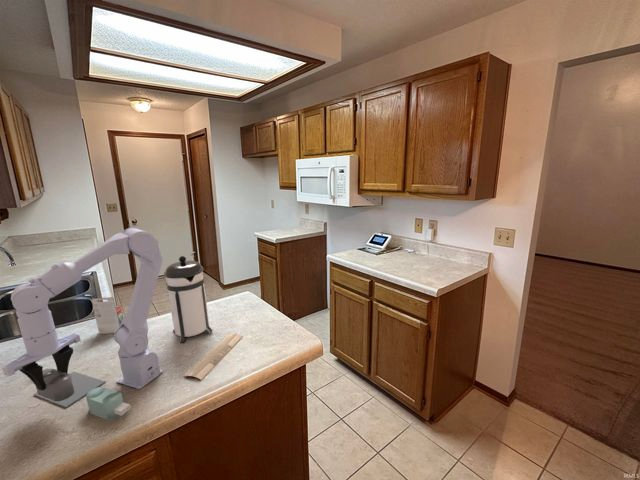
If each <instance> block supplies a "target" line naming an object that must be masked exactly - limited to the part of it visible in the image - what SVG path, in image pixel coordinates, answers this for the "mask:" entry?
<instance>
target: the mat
mask: <svg viewBox="0 0 640 480" xmlns="http://www.w3.org/2000/svg"><path fill="white" fill-rule="evenodd" d="M69 374H70V375H71V379H72V383H73V387H74V394H73V395H72V396H70V397H69V398H67V399H65V400H62V401H53V400H51V399H48V398H46V397H43V396H40V395H38V393H37V392H35V393H33V396H34V397H36V398H39V399H42V400H45V401H47V402H50V403H51V404H52V403H53V404H55V405H58V406H60V407H62V408H66V409H67V408H69V407H70V406H72V405H73V404H75V403H77V402H79V401H80V400H81V399H83V398H84V397H86V395H87V393H88V392H89V391H91V390H93V389H95V388H98V387H102V385H104V384H106V381H105V380H102V379H98V378H95V377H92V376H90V375H86V374H83V373H79V372H78V371H77V372H76V371H71V373H70V372H69Z"/></svg>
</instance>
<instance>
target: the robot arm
mask: <svg viewBox="0 0 640 480" xmlns="http://www.w3.org/2000/svg"><path fill="white" fill-rule="evenodd" d="M130 252H131V253H133V254H134V256H135V257H136V259H137V260H139V262H140V266H139V269H138V272H137V273H138V274H137V276H136V280H135V284H134V286H133V287H134V288H133V291H132V294H131V297H130V302H129V306H128V309H127V313H126V315H125V317H123V320H122V322H121V325H120V326H119V328H118V329H117V330H116V331H115V333H113V334H114V335H113V339H114V341H115V343H117V344H118V345H119V348H118V352H117V355H118V358H119V363H120V368H121V372H122V376H121V377H119V378H117V379H116V383H119V384H121V385H125V386H128V387H131V388H133V389H138V390H140V389H142V388H143V387H145V386H146V385H147V384H149V383H150V382H151V381H153V380H154V379H156V378H157V377H158V376H159V375H160V374H162V373H163V372H164V371H163V370H162V369H160V365H159V358H158V355H157V353H156V352H154V351H152V350H151V349H150V348H149V346H148V345H149V337H148V332H149V325H148V316H149V313H150V308H151V304H152V302H153V298H154V294H155V290H156V286H157V283H158V279H159V277H160V272H161V267H162V264H163V256H162V253H161V250H160V247H159V241H158V239H157V238H156V237H154V235H153V234H152V233H151V232H148V231H146V230H141V229H140V228H137V227H128V228H126V229H124V230H123V231H121V232H118V233H116V234H113V235H112V236H111V237H110V238H108V239H107V240H105V241H103V242H102V243H101V244H99V245H97V246H96V247H94V248H92V249H91V250H89V251H88V252H87V253H85V254H84V255H82V256H79V258H77V259H76V260H75V261H72V262H70V261H69V262H68V261H67V262H66V261H63V262H61V263H59V264H58V263H57V262H55V263H53V264H52V265H51V266H50V269H48V270H47V271H45V272H44V273H42V274H41V275H38V276H37V277H36V278H35V277H31V278H30V279H28V282H27V283H22V284H20V285H18V286H16V287H15V288H14V289H13V291H12V292H11V297H10V300H11V303H12V306H13V308H14V309H15V314H16V317H17V323H18V326H19V330H20V334H21V337H22V341H23V344H24V349H25V351H26V352H25V353H23V354H22V355H21V356H19V357H18V358H16V359H14V360H12V361H10V362H9V363H7V364H5V365H3V366H2V367H1V368H2V372H3V375H4V376H7V377H11V376H13V375H15V373H16V372H18V371H20V372H21V373H22V374H24V375H25V376H26V377H27V378H29V380H30V379H31V380H32V381H33V383H34V384H33V385H35V388H36V387H37V389H39V390H42V391H43V390H45V389H46V385H45V382H44V379H43V370H44V369H43V368H44V367H43V365H40V364H39V363H37V362H38V361H40V360H43V359H45V358H47V357H50V356H52V358H53V360H54V364H55V366H56V370H58V371H61V372H64V373H67V374H69V373H68V370H69V365H70V360H71V358H72V355H73V353H74V348H73V347H71V345H72V344H76V343H79V342H81V337H80V334H78V333H72V334H70V335H67V336H64V337H61V338H59V337H58V335H57V334H58V333H57V330H56V327H55V326H56V325H55V323H54V319H53V315H52V311H51V310H50V309H49V306H48V304H49V301H50V299H52V298H55V297H56V296H58V295H59V294H61V293H62V292H64V291H66V290H67V289H68V288H69V289H70V287H72V286H74V285H75V284H77V283H79V282H80V281H81V280H82V276H83V273H84V272H86V271H88V270H89V269H92V268H93V267H95V266H97V265H99V264H100V263H103V261H106V260H107V259H109V258H111V257H112V256H114V255H115V256H116V255H130ZM37 389H36V390H37Z"/></svg>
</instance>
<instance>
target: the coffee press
mask: <svg viewBox="0 0 640 480" xmlns="http://www.w3.org/2000/svg"><path fill="white" fill-rule="evenodd" d="M163 276H164V278H165V280H166V283H165V286H166V290H167V293H168V300H169V305H170V312H171V313H170V314H171V318H172V323H173V330H172V333H173V334H175V335H177V336H179V337H180V339H179V343H180V344H185V343H186V341H187V339H188V337H194V336H197V335H200V334H202V333H203V332H205V333H206V334H207V335H211V334H212V333H213V328H211V327H210V321H209V313H208V304H207V297H206V296H207V295H206V289H205V276H204V266H202V265H201V263H200V262H199V261H196V260H187V258H186V257H185V255H181V256H179V257H178V261H177V262H176V261H175V262H174V263H171V264H170V265H168V266H167V267H166V268H165V270H164V272H163Z"/></svg>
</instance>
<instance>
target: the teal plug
mask: <svg viewBox="0 0 640 480" xmlns="http://www.w3.org/2000/svg"><path fill="white" fill-rule="evenodd" d="M85 399H86V403H87V407H88V410H89V413H90V414H92V415H94V416H98V417H100V418H102V419H105V420H108V421H113V420H115V419H118V418H119V417H122V416H123V415H125V414H126V413H127V412H128V411H130V410H131V404H130V403H127V402H124V399H123V395H122V393H121V392H119V391H116V390H113V389H111V388H106V387H104V386H99V387H98V388H95V389H93V390H91V391H89V392H88V393H87V395H86V396H85Z"/></svg>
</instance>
